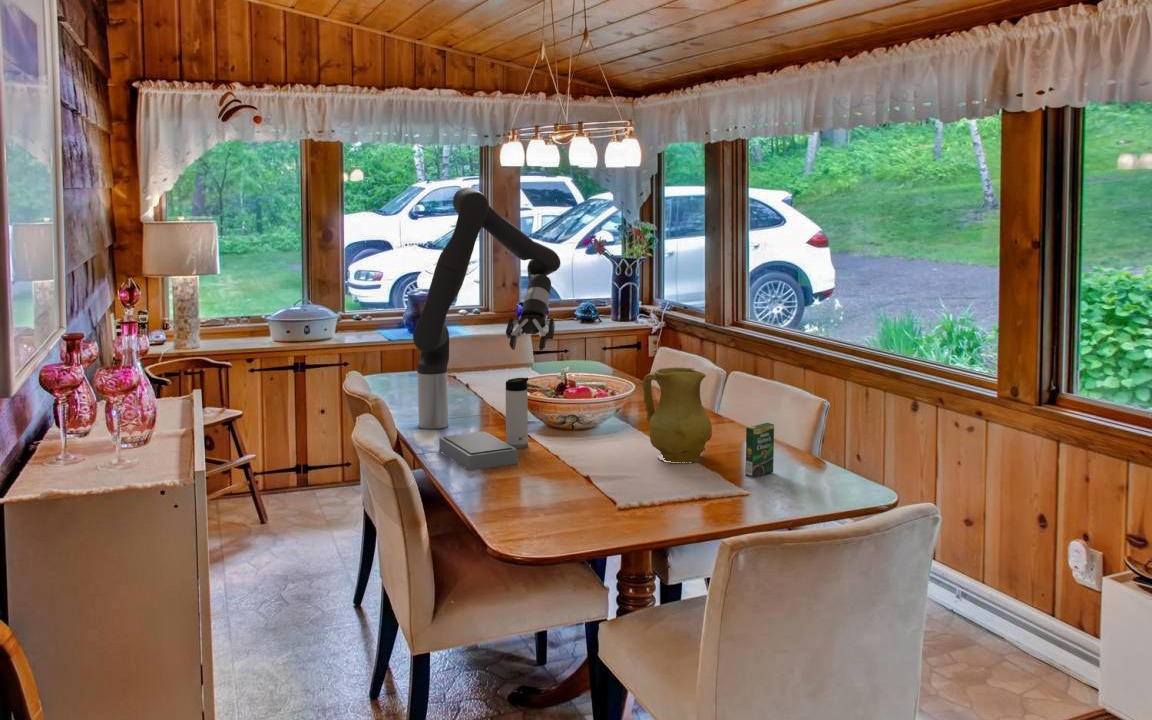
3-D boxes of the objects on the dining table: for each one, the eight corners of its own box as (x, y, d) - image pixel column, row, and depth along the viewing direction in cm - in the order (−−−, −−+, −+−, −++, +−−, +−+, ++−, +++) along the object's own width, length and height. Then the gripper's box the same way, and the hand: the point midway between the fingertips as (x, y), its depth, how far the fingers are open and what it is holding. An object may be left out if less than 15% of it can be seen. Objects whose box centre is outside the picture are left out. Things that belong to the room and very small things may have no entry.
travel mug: (526, 449, 281) (525, 380, 278) (503, 447, 282) (502, 379, 279) (531, 443, 287) (530, 376, 284) (509, 442, 289) (508, 375, 285)
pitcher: (671, 468, 260) (672, 374, 257) (634, 455, 277) (635, 366, 274) (724, 462, 268) (726, 370, 265) (685, 449, 284) (687, 363, 282)
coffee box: (752, 478, 253) (753, 428, 251) (744, 475, 255) (745, 426, 253) (773, 473, 258) (775, 424, 255) (765, 470, 260) (767, 422, 258)
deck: (439, 451, 279) (439, 436, 278) (485, 445, 285) (484, 430, 285) (469, 470, 260) (468, 454, 259) (517, 463, 266) (517, 447, 266)
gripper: (510, 297, 299) (500, 340, 290) (556, 298, 296) (547, 341, 287) (515, 312, 305) (506, 355, 296) (560, 313, 302) (552, 356, 293)
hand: (526, 348), depth 291 cm, fingers open, 8 cm apart
